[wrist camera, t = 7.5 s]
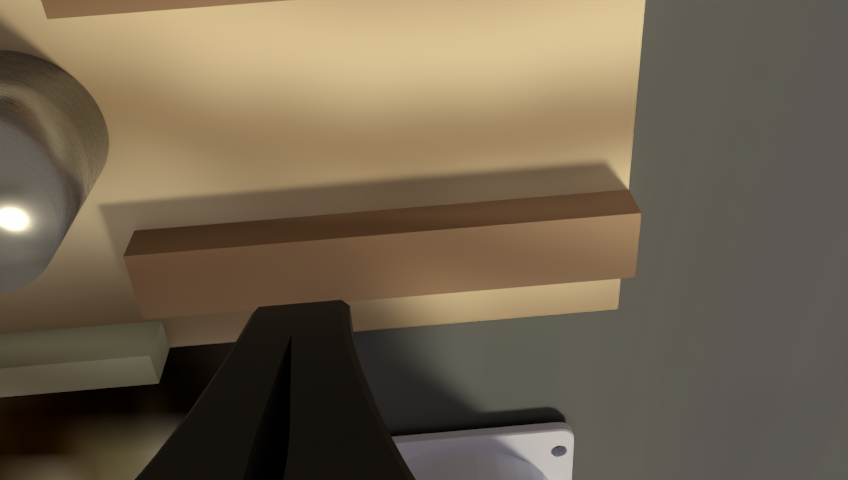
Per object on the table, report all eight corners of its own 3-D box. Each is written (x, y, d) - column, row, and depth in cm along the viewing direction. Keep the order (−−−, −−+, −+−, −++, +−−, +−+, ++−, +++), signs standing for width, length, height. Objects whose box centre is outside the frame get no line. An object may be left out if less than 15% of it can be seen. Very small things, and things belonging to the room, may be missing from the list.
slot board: (610, 292, 24) (631, 342, 22) (-303, 370, 24) (-362, 428, 22) (655, -255, 17) (693, -250, 15) (-690, -155, 16) (-833, -137, 14)
